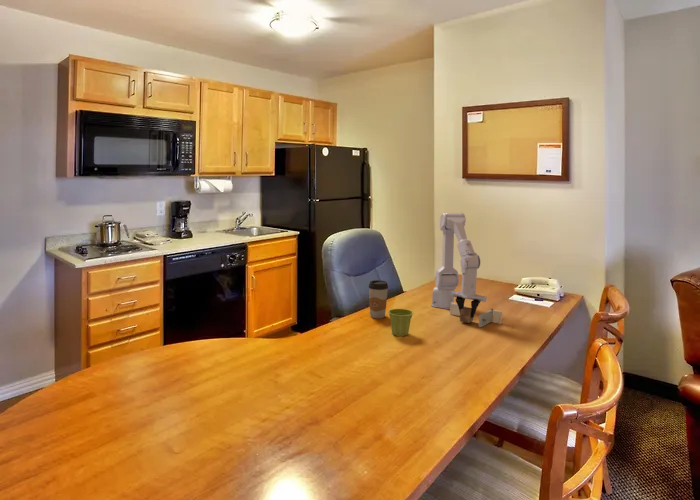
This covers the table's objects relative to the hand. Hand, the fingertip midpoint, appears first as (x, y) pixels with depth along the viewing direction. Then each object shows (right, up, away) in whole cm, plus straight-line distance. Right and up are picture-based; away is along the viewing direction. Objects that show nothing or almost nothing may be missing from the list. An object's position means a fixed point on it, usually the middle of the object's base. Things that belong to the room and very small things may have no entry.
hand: (467, 316), depth 183 cm
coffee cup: (-37, -1, +7) cm, 37 cm away
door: (+8, -3, -2) cm, 8 cm away
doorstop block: (0, -2, 0) cm, 2 cm away
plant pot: (-29, -5, -15) cm, 33 cm away
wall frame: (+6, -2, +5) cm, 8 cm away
